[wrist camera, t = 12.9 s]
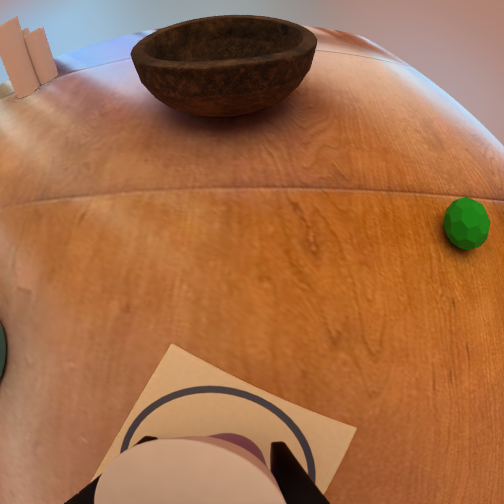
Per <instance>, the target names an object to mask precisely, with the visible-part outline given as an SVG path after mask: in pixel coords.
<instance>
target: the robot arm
mask: <svg viewBox="0 0 504 504" xmlns="http://www.w3.org/2000/svg"><path fill="white" fill-rule="evenodd" d="M157 439H158V438H157V437H154V436H144V437H143V438H142V439H141V440H139V441H138V442H137V443H136V444H135V445H138V444H141V443H144V442H147V441H153V440H157ZM135 445H134V446H135ZM270 470H271V473H272V475H273V476H274V478H275V480H276V482H277V484H278V486H279V489H280V491H281V493H282V495H283V498H284V500H285V502H286V504H330V503H329V501H328V500H327V499H326V498H325V496H324V495H323V494H322V492H321V491H320V490H319V488H318V487H317V486H316V485H315V483H314V482H313V481H312V479H311V478H310V477H309V475H308V474H307V472H306V471H305V470H304V468H303V467H302V466H301V464H300V463H299V462H298V460H297V459H296V457H295V456H294V455H293V453H292V452H291V450H290V449H289V447H288V446H287V445H286V443H285V442H283V441H276V442H271V449H270ZM101 475H102V474H100V475H99V476H98V477H97V478H96V479H94V480H93V481H92V482H91V483H90V484H88V485H87V486H86V487H85V488H83V489H82V490H81V491H80V492H79V494H78V493H77V494H76V495H75V496H73V497H72V498H71V499H69V500H68V501H67V502H65V503H64V504H94V497H95V491H96V487H97V484H98V481H99V479H100V477H101Z"/></svg>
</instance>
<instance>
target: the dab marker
mask: <svg viewBox="0 0 504 504" xmlns="http://www.w3.org/2000/svg"><path fill="white" fill-rule="evenodd" d="M94 504H286V502H285V500H284V498H283V495H282V493H281V491H280V489H279V486H278V484H277V482H276V480H275V478H274V476H273V475H272V473H271V472H270V470H269V469H268V468H267V465H266V462H265V459H264V456H263V454H262V452H261V450H260V449H259V448H258V446H257V445H256V444H255V443H254V442H252V441H251V440H250V439H248V438H246V437H244V436H242V435H238V434H234V433H220V434H215V435H210V436H186V437H177V438H167V439H157V440H153V441H147V442H144V443H141V444H138V445H135V446H133V447H131V448H129V449H127V450H125V451H124V452H122V453H121V454H119V455H118V456H117V457H116V458H115V459H113V460H112V461H111V462H110V463H109V465H108V466H107V467H106V468H105V470H104V471H103V473H102V475H101V477H100V479H99V481H98V484H97V487H96V491H95V497H94Z"/></svg>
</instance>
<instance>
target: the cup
mask: <svg viewBox="0 0 504 504" xmlns="http://www.w3.org/2000/svg"><path fill="white" fill-rule="evenodd" d="M5 357H6V342H5V335H4V331H3V328H2V325H1V323H0V378H1V375H2V373H3V369H4V364H5Z"/></svg>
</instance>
